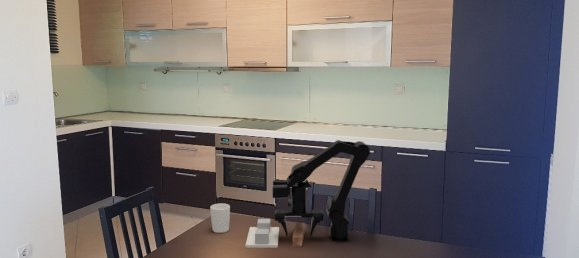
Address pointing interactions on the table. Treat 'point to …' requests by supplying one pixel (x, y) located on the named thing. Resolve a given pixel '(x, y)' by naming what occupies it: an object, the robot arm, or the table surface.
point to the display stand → (263, 235)
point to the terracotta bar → (298, 234)
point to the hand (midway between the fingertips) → (298, 236)
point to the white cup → (220, 217)
